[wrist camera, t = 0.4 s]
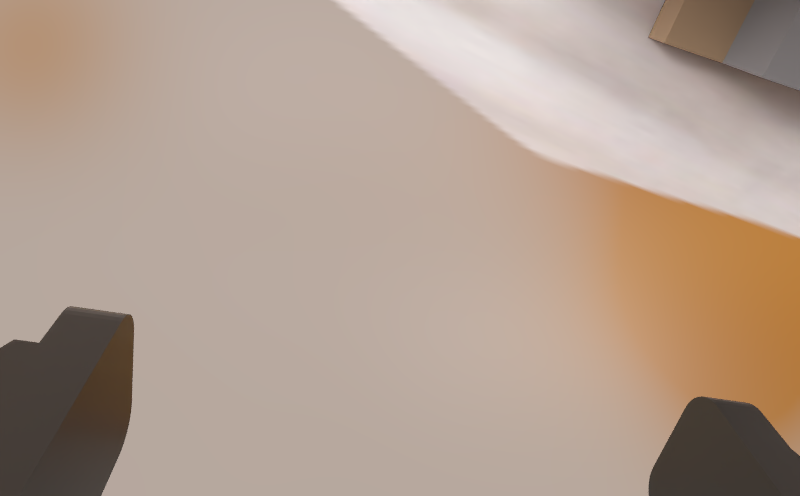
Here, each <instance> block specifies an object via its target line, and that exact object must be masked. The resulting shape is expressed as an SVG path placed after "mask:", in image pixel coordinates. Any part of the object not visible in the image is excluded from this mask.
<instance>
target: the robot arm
mask: <svg viewBox="0 0 800 496" xmlns="http://www.w3.org/2000/svg"><path fill="white" fill-rule="evenodd" d="M133 341H134V322H133V318H132V316H131V315H129V314H122V313H115V312H108V311H100V310H94V309H86V308H79V307H72V306H70V307H67V308H66V309H65V310H64V311H63V312H62V313H61V315H60V316H59V317H58V319H57V320H56V321H55V323H54V324H53V325H52V327H51V328H50V329H49V331H48V332H47V333H46V335H45V336H44V337H43V339H42V340H41V341H40V343H36V342H28V341H21V340H13V341H11V342H9V343H8V344H6V345H4V346H3V347H1V348H0V496H101V495H102V492H103V490H104V488H105V485H106V483H107V481H108V479H109V477H110V474H111V472H112V470H113V468H114V466H115V463H116V461H117V459H118V456H119V454H120V452H121V449H122V446H123V444H124V440H125V437H126V433H127V429H128V425H129V420H130V414H131V405H132V376H133ZM649 496H800V456H799V455H798V454H797V453H795V452H794V451H793V450H792V449H791V448H790V447H789V446H788V445H787V443H786V442H785V441H784V440H783V438H782V437H781V436H780V435H779V434H778V432H777V431H776V430H775V429H774V427H773V426H772V425H771V424H770V422H769V421H768V420H767V419H766V418H765V416H764V415H763V414H762V413H761V411H760V410H759V409H758V408H756V407H755V406H754V405H752V404H749V403H744V402H736V401H730V400H723V399H716V398H708V397H697V398H694V399H693V400H692V401H690V402H689V403H688V405H687V406H686V408H685V410H684V412H683V413H682V415H681V417H680V419H679V421H678V423H677V425H676V426H675V428H674V430H673V432H672V434H671V435H670V437H669V439H668V441H667V443H666V445H665V447H664V449H663V450H662V452H661V454H660V456H659V458H658V460H657V462H656V463H655V465H654V467H653V469H652V472H651V475H650V480H649Z"/></svg>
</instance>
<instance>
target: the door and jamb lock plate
mask: <svg viewBox="0 0 800 496" xmlns="http://www.w3.org/2000/svg"><path fill="white" fill-rule="evenodd" d="M649 38H651V39H654V40H657V41H659V42H662V43H665V44H668V45H671V46H673V47H676V48H679V49H682V50H685V51H688V52H691V53H694V54H697V55H700V56H703V57H706V58H709V59H711V60H714V61H717V62H720V63H723V64H726V65H729V66H731V67H734V68H737V69H739V70H742V71H745V72H747V73H750V74H753V75H756V76H758V77H761V78H764V79H767V80H770V81H773V82H776V83H778V84H781V85H784V86H787V87H790V88H793V89H796V90H799V91H800V0H665V2H664V5H663V7H662V9H661V11H660V13H659V15H658V18H657V20H656V22H655V24H654V26H653V28H652V31H651V33H650V35H649Z"/></svg>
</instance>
